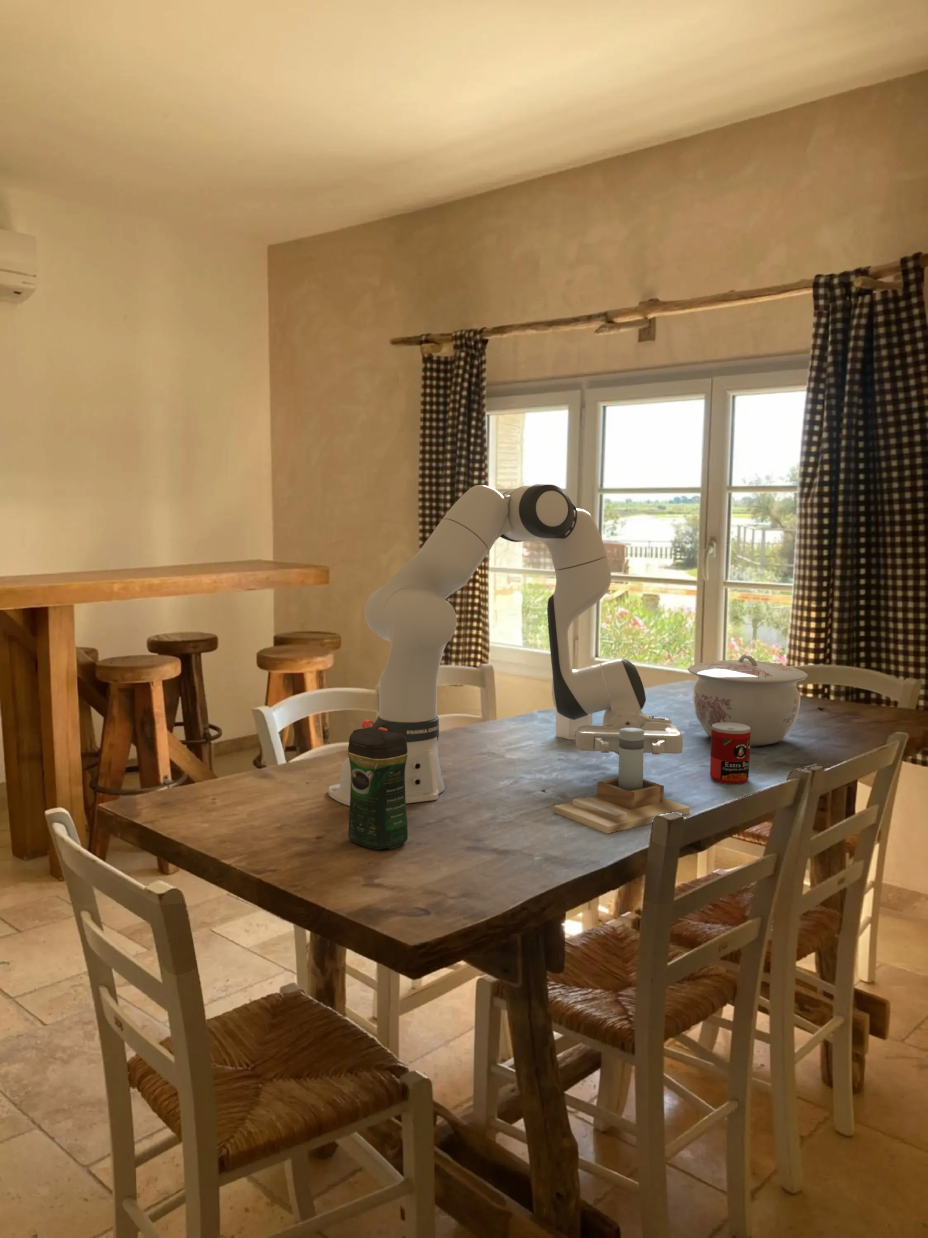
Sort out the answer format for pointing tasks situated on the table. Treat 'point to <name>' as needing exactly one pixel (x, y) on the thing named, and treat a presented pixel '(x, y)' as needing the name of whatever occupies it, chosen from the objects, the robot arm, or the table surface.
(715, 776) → the canned food
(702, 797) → the table surface
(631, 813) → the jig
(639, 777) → the insulated water bottle
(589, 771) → the table surface
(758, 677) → the chamber pot
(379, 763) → the coffee jar
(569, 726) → the jar
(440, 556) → the robot arm
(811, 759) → the table surface
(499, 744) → the table surface
